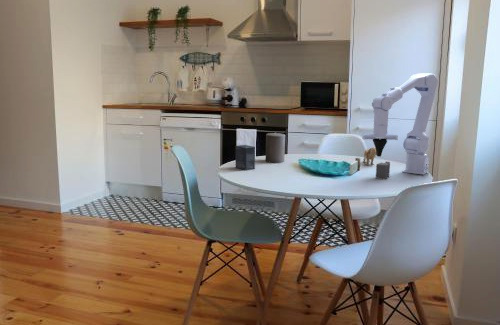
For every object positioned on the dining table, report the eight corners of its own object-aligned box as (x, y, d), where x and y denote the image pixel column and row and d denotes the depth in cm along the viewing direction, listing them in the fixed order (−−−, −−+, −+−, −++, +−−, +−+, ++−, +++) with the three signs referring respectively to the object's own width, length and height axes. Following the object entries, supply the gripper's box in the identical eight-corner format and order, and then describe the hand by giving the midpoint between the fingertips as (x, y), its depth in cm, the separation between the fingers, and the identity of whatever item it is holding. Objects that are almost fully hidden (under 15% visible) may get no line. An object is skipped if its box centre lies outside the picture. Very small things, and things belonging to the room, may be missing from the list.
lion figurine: (379, 166, 227) (380, 147, 225) (368, 166, 226) (370, 148, 224) (368, 160, 241) (369, 143, 239) (358, 161, 240) (359, 143, 239)
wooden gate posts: (390, 174, 209) (390, 161, 208) (388, 174, 207) (389, 162, 206) (356, 169, 219) (356, 157, 217) (354, 170, 217) (354, 158, 216)
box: (255, 169, 218) (255, 146, 216) (245, 170, 214) (245, 147, 212) (244, 166, 224) (244, 144, 222) (235, 167, 220) (235, 145, 218)
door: (351, 174, 206) (352, 164, 205) (347, 174, 207) (347, 164, 206) (357, 170, 215) (357, 160, 214) (352, 170, 216) (353, 160, 215)
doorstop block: (389, 177, 203) (390, 163, 202) (384, 179, 199) (385, 165, 198) (380, 176, 205) (380, 162, 204) (375, 178, 201) (376, 164, 200)
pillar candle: (263, 162, 234) (263, 132, 231) (268, 158, 243) (268, 130, 240) (282, 163, 231) (283, 133, 229) (286, 160, 241) (287, 131, 238)
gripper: (395, 123, 204) (393, 154, 206) (361, 123, 204) (360, 154, 207) (399, 125, 197) (397, 157, 199) (364, 125, 197) (363, 157, 200)
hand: (378, 156), depth 203 cm, fingers closed
